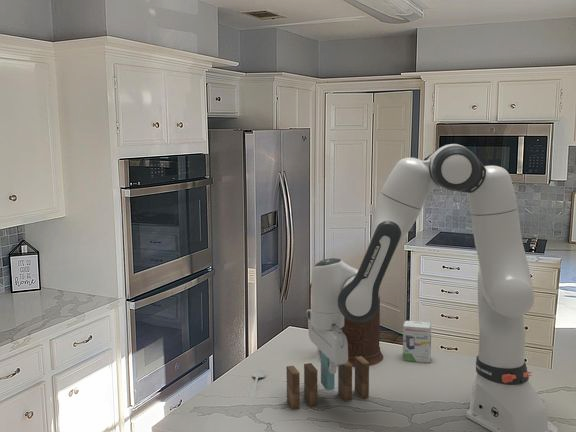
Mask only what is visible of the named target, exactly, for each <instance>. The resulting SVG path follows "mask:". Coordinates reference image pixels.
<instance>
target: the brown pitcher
mask: <svg viewBox="0 0 576 432" xmlns="http://www.w3.org/2000/svg"><path fill="white" fill-rule="evenodd" d="M311 284H312V282H311V283H309V286H308V310H310V309H311V306H312V300H311V299H312V293H311ZM380 312H381V294H380V295H379V308H378V311H377V313H376V315H375V316H374V317H373V318H372V319H370V320H369V321H366V322H361V323H358V322H353V321H350V320H348V319H347V318H345V317H344V327H342V328H340V329H341V330H342V333H344V334H345V336H346V338H347V344H348V362H349V363H350V364H351V365H352V368H355V357H358V356H362V357H363V358H364V359H365V360H366V361H368V362H369V367H371V366H375V365H378V364H380V363H382V361H383V360H384V354H383V353H382V351H381V347H380V325H381V324H380V322H381V320H380V316H381V313H380Z"/></svg>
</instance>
